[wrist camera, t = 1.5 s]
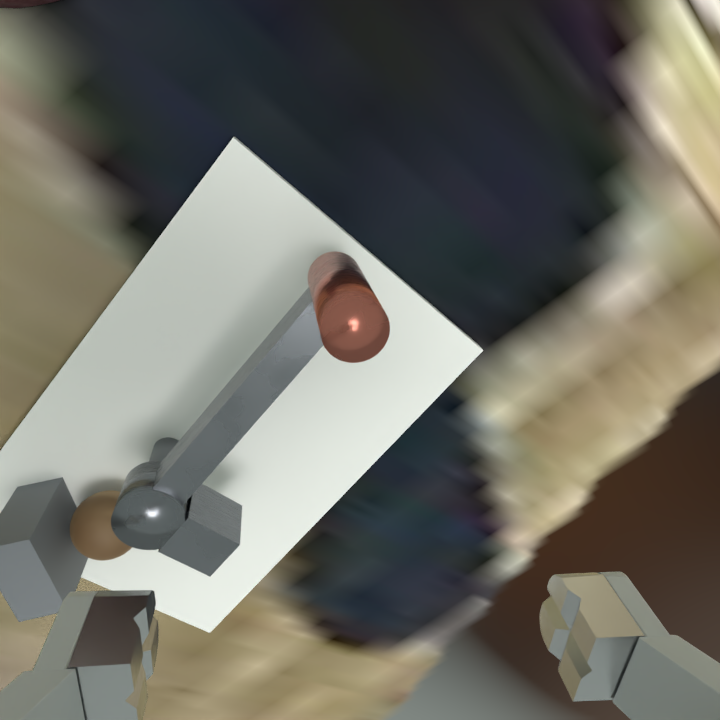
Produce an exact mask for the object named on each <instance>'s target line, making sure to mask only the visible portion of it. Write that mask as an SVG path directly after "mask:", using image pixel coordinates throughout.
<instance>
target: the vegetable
mask: <svg viewBox="0 0 720 720" xmlns="http://www.w3.org/2000/svg"><path fill="white" fill-rule="evenodd" d="M56 1H60V0H0V8H23V7H33V6H38V5H42V4H47V3H52V2H56Z"/></svg>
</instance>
